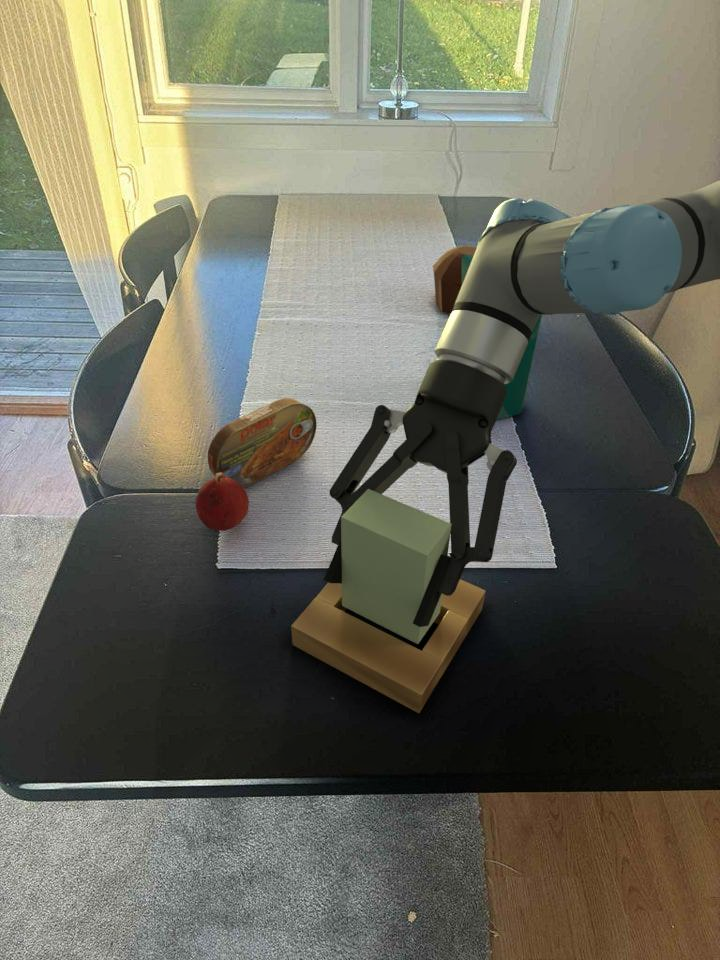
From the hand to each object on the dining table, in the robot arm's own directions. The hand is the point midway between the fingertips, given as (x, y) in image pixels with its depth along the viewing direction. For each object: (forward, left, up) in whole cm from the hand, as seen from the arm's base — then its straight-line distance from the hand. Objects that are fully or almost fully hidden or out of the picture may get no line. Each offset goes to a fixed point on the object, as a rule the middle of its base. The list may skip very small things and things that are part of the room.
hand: (375, 602), depth 64 cm
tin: (+27, +14, -7) cm, 31 cm away
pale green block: (+3, -2, -4) cm, 5 cm away
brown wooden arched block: (+74, -14, -7) cm, 75 cm away
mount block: (+3, -2, -7) cm, 8 cm away
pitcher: (+43, -15, -7) cm, 46 cm away
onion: (+16, +17, -7) cm, 25 cm away
